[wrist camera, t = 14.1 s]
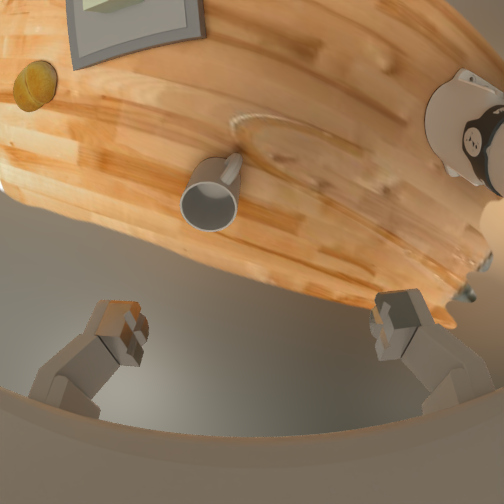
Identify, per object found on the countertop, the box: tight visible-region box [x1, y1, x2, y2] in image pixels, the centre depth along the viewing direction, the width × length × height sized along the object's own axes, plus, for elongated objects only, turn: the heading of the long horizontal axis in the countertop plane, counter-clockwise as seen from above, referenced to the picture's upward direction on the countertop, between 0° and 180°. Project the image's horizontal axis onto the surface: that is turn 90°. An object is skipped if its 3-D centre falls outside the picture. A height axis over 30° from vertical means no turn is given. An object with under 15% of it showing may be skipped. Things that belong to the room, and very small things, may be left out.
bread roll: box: [13, 61, 57, 112], centre depth 30 cm, size 8×9×4 cm
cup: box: [180, 153, 243, 232], centre depth 39 cm, size 7×10×9 cm
